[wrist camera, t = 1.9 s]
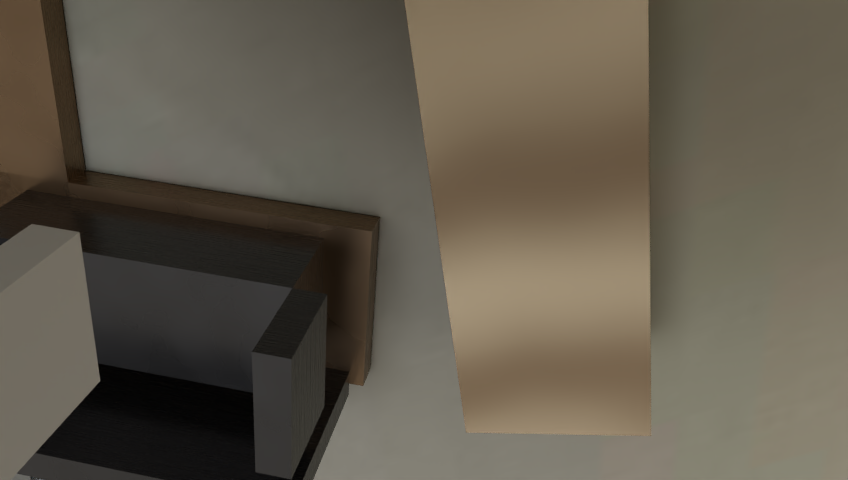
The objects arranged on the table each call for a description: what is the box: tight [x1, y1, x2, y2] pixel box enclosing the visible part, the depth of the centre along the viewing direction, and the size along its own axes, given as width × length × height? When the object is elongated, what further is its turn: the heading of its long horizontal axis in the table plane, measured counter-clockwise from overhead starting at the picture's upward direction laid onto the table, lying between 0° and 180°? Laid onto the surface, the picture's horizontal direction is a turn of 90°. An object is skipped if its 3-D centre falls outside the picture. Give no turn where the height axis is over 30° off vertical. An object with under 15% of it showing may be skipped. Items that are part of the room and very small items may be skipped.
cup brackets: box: [0, 0, 380, 480], centre depth 20 cm, size 22×13×7 cm, turn 176°
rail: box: [404, 0, 651, 436], centre depth 20 cm, size 16×5×5 cm, turn 8°
